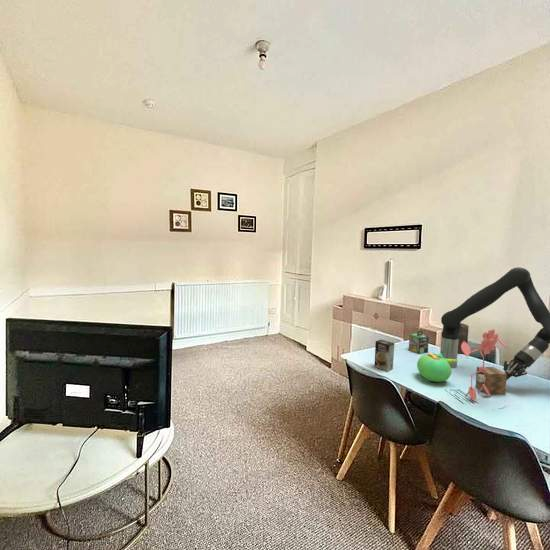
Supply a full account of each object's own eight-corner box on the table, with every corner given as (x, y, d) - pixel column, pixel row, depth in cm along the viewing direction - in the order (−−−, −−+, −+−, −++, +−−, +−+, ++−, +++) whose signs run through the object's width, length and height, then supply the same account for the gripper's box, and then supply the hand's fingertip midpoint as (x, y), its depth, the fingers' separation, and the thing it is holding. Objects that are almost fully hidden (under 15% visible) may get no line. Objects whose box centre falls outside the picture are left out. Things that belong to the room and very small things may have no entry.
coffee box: (373, 367, 190) (374, 341, 188) (379, 364, 194) (380, 339, 192) (387, 372, 183) (389, 344, 181) (393, 369, 187) (394, 342, 185)
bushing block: (487, 394, 156) (489, 374, 155) (475, 386, 165) (476, 366, 164) (505, 394, 156) (507, 374, 155) (492, 386, 165) (493, 366, 164)
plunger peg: (482, 386, 157) (483, 375, 157) (475, 381, 163) (475, 370, 162) (505, 385, 158) (506, 375, 157) (497, 381, 163) (498, 370, 163)
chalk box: (417, 348, 225) (418, 328, 223) (428, 352, 216) (429, 331, 215) (407, 350, 221) (409, 329, 219) (418, 354, 213) (419, 332, 211)
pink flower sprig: (451, 398, 152) (457, 327, 147) (486, 389, 162) (494, 323, 157) (482, 415, 138) (491, 337, 133) (519, 404, 147) (528, 332, 143)
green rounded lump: (410, 373, 181) (412, 348, 180) (438, 372, 183) (440, 347, 181) (428, 387, 163) (430, 360, 162) (459, 386, 165) (461, 359, 163)
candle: (456, 349, 222) (458, 322, 220) (468, 352, 217) (470, 324, 215) (453, 352, 217) (455, 323, 215) (465, 355, 212) (467, 326, 210)
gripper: (512, 346, 166) (488, 369, 167) (534, 355, 153) (508, 380, 154) (521, 355, 167) (497, 378, 167) (544, 365, 153) (517, 390, 154)
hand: (502, 379), depth 160 cm, fingers closed
